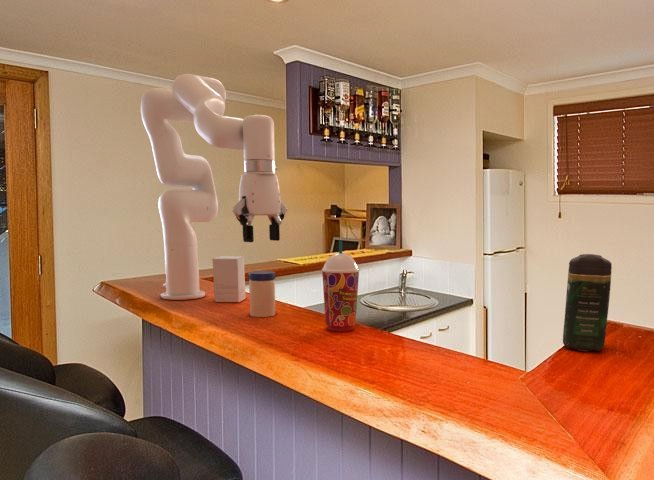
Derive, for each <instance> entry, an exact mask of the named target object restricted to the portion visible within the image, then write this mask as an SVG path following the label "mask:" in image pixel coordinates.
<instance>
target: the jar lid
mask: <svg viewBox="0 0 654 480" xmlns="http://www.w3.org/2000/svg"><path fill="white" fill-rule="evenodd" d="M247 275H248V281H249V280H256V281H265V280H273V279H275V280H276V271H274V270H253V271H252V270H251V271H248V274H247Z"/></svg>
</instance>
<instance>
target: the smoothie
mask: <svg viewBox="0 0 654 480" xmlns="http://www.w3.org/2000/svg"><path fill="white" fill-rule="evenodd" d="M321 272H322V275H321V276H322V289H323V290H322V292H323V304H324V320H325V325H327V329H328V330H329V331H331V332H337V333H345V332H351V331H352V330H354V325H356V321H357V307H358V294H359V293H358V292H359V277H360V268H359V267H358V264H357V262H356V261H355V258H353V257H352V256H351V255H349V254H347V253H345V252H343V240H339V241H338V252H336V253H334V254H332V255H330V256H329V257H328V258H327V259H326V261H325V262H324V265H323V267H322V268H321Z"/></svg>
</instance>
